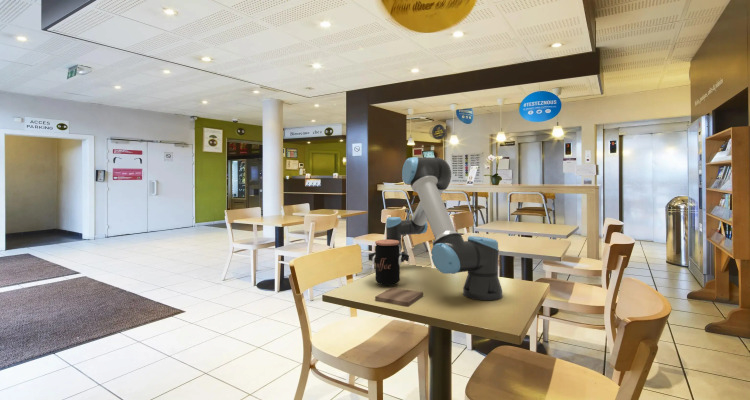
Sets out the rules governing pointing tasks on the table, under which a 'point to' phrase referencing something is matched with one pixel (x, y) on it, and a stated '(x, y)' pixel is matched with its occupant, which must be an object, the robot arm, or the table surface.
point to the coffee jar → (387, 262)
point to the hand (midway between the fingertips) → (386, 261)
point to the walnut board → (399, 296)
